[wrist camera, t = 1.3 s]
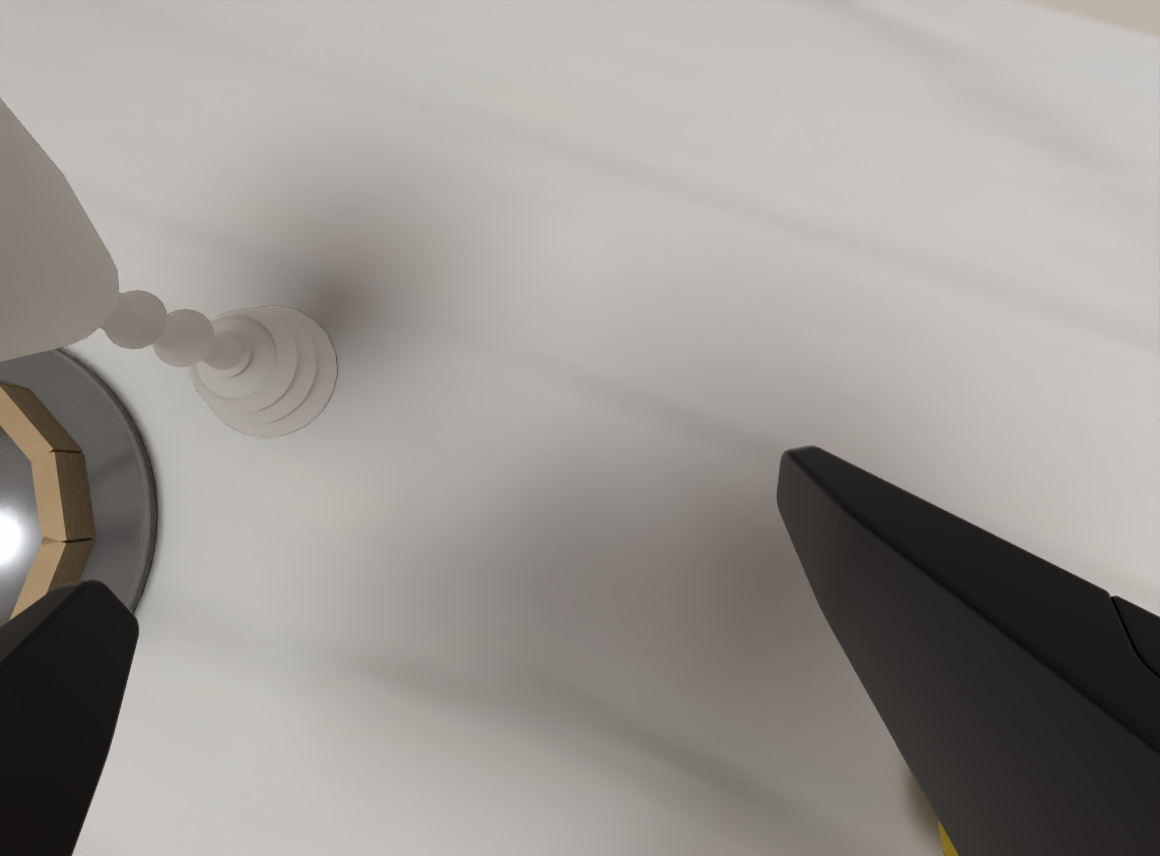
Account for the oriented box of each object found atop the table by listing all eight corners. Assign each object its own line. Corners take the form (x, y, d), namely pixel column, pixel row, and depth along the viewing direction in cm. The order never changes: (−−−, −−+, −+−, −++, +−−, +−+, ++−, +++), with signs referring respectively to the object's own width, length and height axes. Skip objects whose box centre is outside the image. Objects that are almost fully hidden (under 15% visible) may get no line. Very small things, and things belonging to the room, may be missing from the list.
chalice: (371, 285, 22) (-478, -570, 4) (362, 462, 21) (-695, 343, 4) (178, 281, 22) (-1535, -609, 4) (163, 459, 21) (-1967, 323, 3)
